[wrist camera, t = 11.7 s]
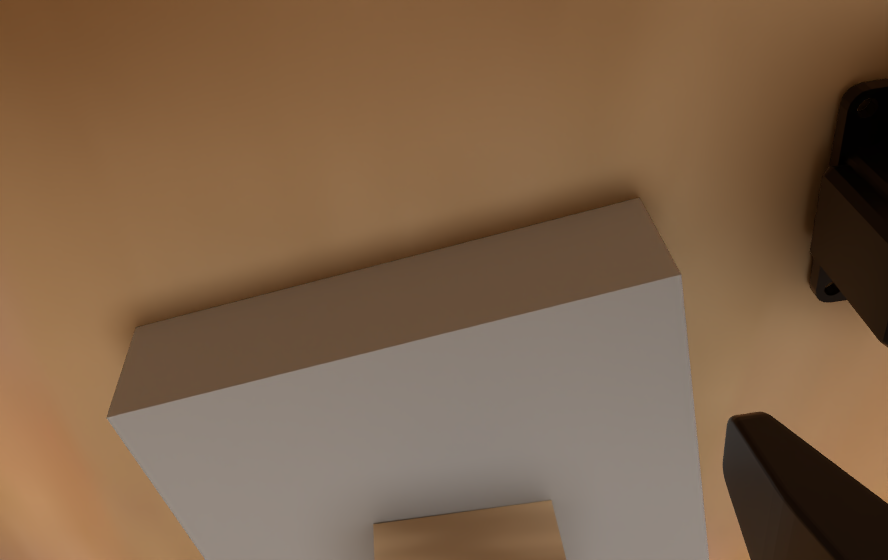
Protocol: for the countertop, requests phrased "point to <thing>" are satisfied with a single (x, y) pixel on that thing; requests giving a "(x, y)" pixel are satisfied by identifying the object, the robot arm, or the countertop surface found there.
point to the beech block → (474, 535)
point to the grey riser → (433, 399)
